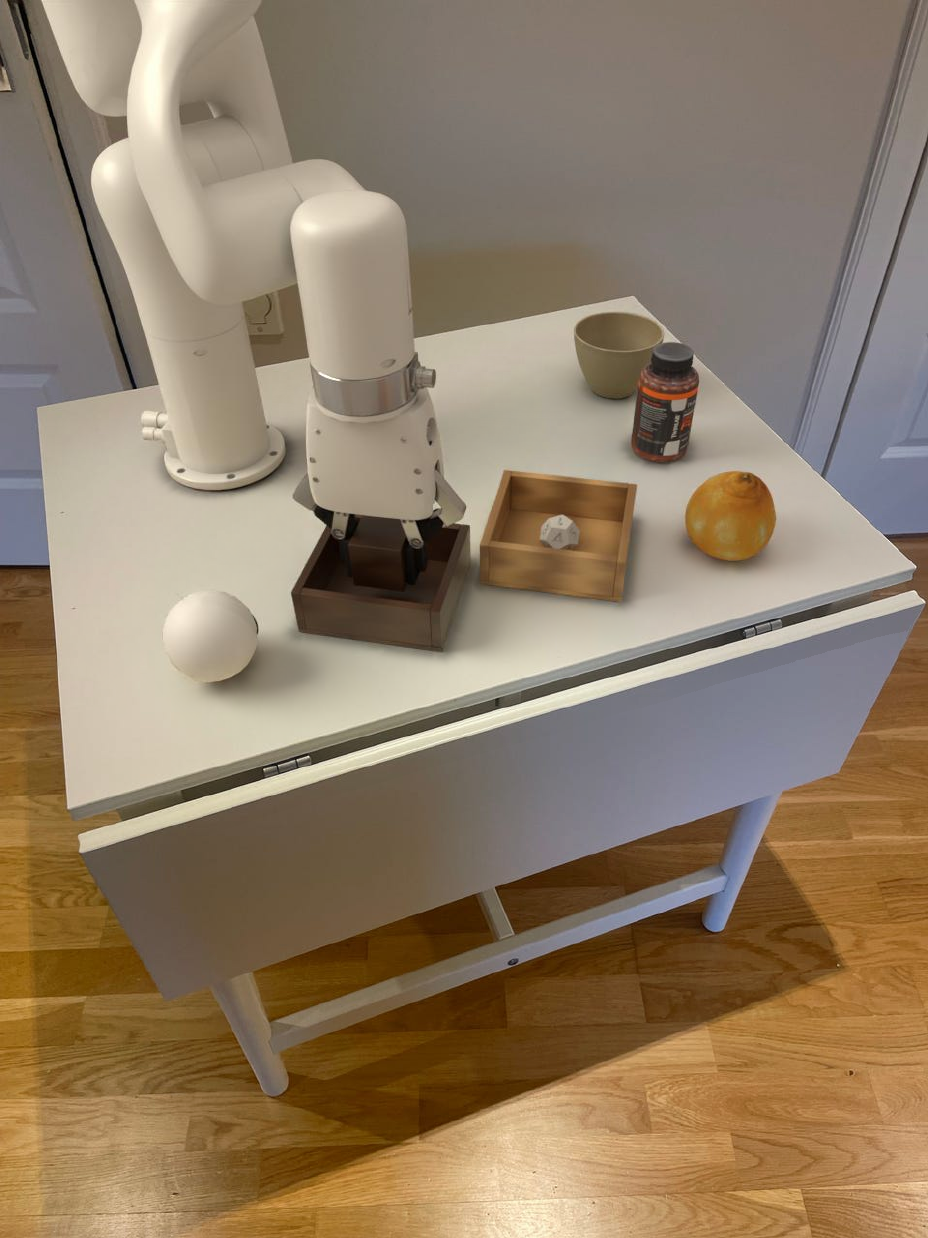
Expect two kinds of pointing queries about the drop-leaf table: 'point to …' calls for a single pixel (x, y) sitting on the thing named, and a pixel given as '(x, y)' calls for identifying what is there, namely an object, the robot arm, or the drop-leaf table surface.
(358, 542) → the walnut block
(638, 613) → the drop-leaf table surface
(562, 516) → the game die
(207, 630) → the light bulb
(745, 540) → the fruit
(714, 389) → the drop-leaf table surface
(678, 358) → the supplement bottle
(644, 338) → the flower pot
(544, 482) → the light bin
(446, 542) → the dark bin
